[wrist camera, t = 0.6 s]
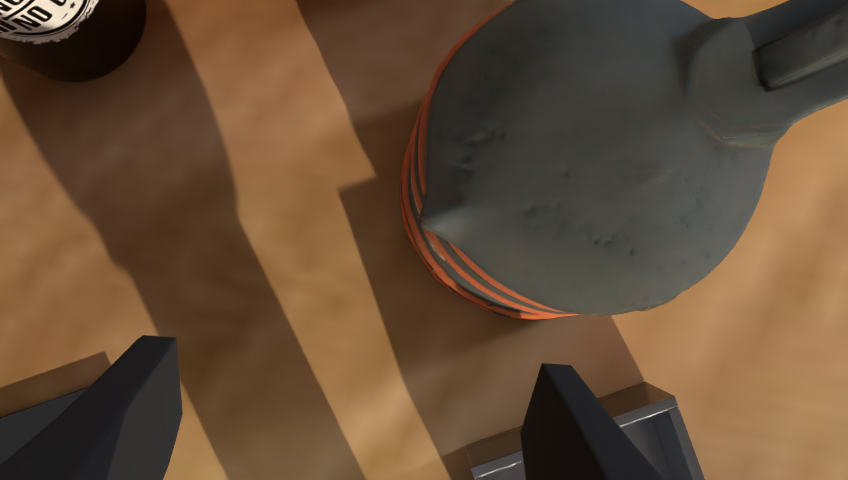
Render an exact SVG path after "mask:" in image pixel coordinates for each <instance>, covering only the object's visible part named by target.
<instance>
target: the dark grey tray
mask: <svg viewBox="0 0 848 480" xmlns="http://www.w3.org/2000/svg"><path fill="white" fill-rule="evenodd" d="M598 401H599V402H600V403H601V404H602V406H603V407H604V408H605V409H606V411H607V412H608V413H609V414H610V416H611V417H612V418H613V420H614V421H615V422H616V423H617V424H618V426H619V427H620V428H621V429H622V431H623V432H624V433H625V434H626V435H627V437H628V438H629V439H630V440H631V441H632V442H633V444H634V445H635V446H636V447H637V448H638V450H639V451H640V452H641V453H642V454H643V455H644V456H645V458H646V459H647V460H648V461H649V462H650V463H651V464H652V466H653V467H654V468H655V469H656V470H657V471H658V472H659V473H660V474H661V475H662V476H663V477H664V478H665V479H666V480H705V479H704V476H703V473H702V470H701V468H700V465H699V462H698V459H697V457H696V454H695V451H694V449H693V446H692V443H691V440H690V438H689V435H688V432H687V429H686V427H685V424H684V421H683V418H682V416H681V413H680V410H679V408H678V407H677V406H678V404H677V402H676V399H675V396H673V395H671V394H669V393H667V392H665V391H663V390H661V389H659V388H657V387H655V386H653V385H651V384H649V383H647V382H643V383H640V384H637V385H635V386H632V387H629V388H626V389H623V390H620V391H618V392H615V393H612V394H609V395H606V396H604V397H601V398H598ZM522 426H523V425H522ZM522 426H519V427H516V428H513V429H510V430H508V431H505V432H502V433H499V434H496V435H494V436H491V437H488V438H485V439H482V440H479V441H477V442H474V443H471V444H468V445H466V446H465V448H466V452H467V456H468V461H469V465H470V469H471V472H472V475H473V478H474V480H526V476H525V469H524V461H523V453H522V444H521V435H520V432H521V429H522Z"/></svg>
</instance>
